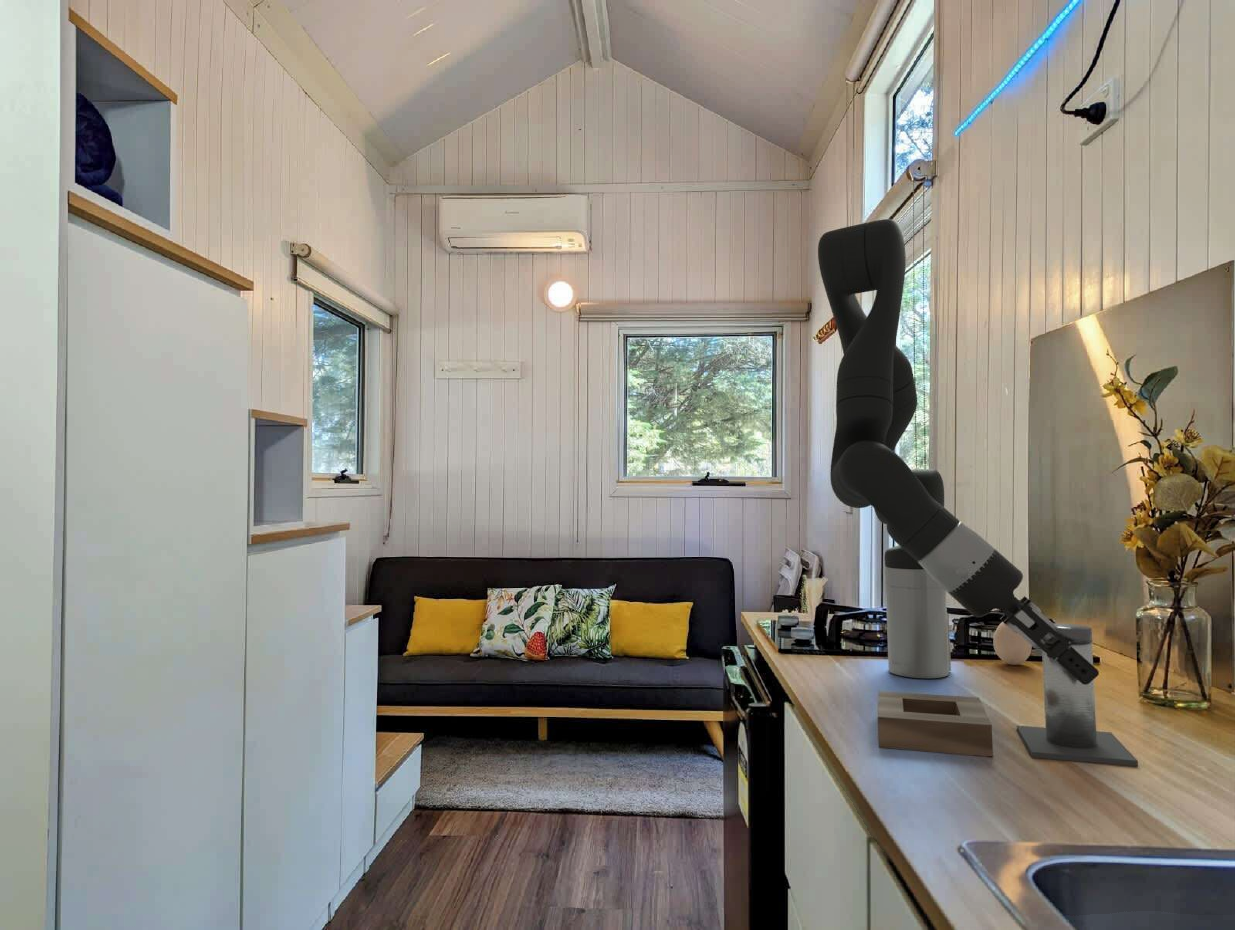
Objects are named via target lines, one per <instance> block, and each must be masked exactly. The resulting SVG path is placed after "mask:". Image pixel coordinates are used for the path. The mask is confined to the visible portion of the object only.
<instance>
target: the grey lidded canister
mask: <svg viewBox="0 0 1235 930" xmlns="http://www.w3.org/2000/svg"><path fill="white" fill-rule="evenodd" d="M1052 623H1053V624H1055V625H1056V626H1057V627H1058V634H1060V635H1061V636H1062V637H1063V638H1064V639H1065V638H1066V639H1067V640H1068V641H1070V644H1071V645H1072V646H1073V647H1072V648H1073V649H1075V650H1076V651H1077V652H1078V653H1079V654H1080V655H1081V656H1083V657H1084V658H1085V659H1086V660H1087V661H1088V662H1089V663H1090V664H1092V665H1093V666H1094V659H1093V657H1094V655H1093V628H1092V627H1091V626H1087V625H1082V624H1076V623H1075V624H1074V623H1065V622H1063V623H1062V622H1059V623H1056V622H1055V623H1054V622H1052ZM1057 640H1058V639H1057V638H1056V637H1054V636H1053V637H1051V638H1050V639H1049V640H1048V641H1046V642H1045V646H1046V647H1047V648H1049V647H1051V646H1052V645H1053V644H1054V643H1055V642H1056V641H1057ZM1041 655H1042V656H1041V657H1042V658H1041V659H1042V680H1043V699H1044V701H1043V702H1044V720H1045V721H1044V722H1045V728H1046V739H1047V740H1048V741H1049V742H1051V743H1054V744H1057V745H1060V746H1065V747H1071V748H1093V747H1096V746H1097V735H1096V731H1097V719H1096V718H1097V716H1096V699H1095V697H1096V696H1095V679H1093V680H1092V681H1091V682H1090V683H1089V684H1087V685H1084V684H1082V683H1081V682H1080V681H1078V680H1077V679H1076V678H1075V677H1074V676H1073V675H1072V674H1071V673H1070V672H1068V671H1067V670H1066V669H1065V668H1064V667H1063V666H1062V665H1061V664H1060V663H1058V662H1057V661H1055V660H1053V659H1050V658H1049V657H1048V656H1047V653H1045V652H1044V651H1043V650H1042V649H1041Z"/></svg>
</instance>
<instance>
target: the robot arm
mask: <svg viewBox="0 0 1235 930" xmlns="http://www.w3.org/2000/svg"><path fill="white" fill-rule="evenodd" d="M904 240H905V239H904V236H903V232H902V230H901V228H900V226H899V224H898V223H897V222H896V221H895V220H893V219H889V218H885V219H884V218H883V219H876V220H872V221H869V222H864V223H860V224H858V223H857V224H855V225H850V226H845V227H840V228H837V229H834V230H830V231H826V232H824V233H823V234H822V235H821V236H820V237H819V241H818V245H817V261H818V265H819V266H818V267H819V271H820V276H821V278H822V283H823V287H824V291H825V293H826V297H827V300H828V303H829V306H830V309H831V312H832V315H833V319H834V322H835V326H836V330H837V332H838V333H837V334H838V335H839V340H840V344H841V349H842V354H843V356H842V357H841V360H840V363H839V365H838V369H837V375H836V391H835V392H836V394H835V395H836V397H835V400H836V401H835V408H836V409H835V415H836V426H835V433H834V439H833V445H832V452H831V461H830V474H829V475H830V476H829V477H830V485H831V488H832V492H833V493H834V495H835V496H836V498H837V499H838V500H839V501H840V502H841V503H842V504H843V505H845V506H847V507H850V508H855V509H863V508H867V507H870V506H872V508H873V510H874V513H875V515H876V518H877V519H878V521H880V522H881V523H882V524H883V525H884V524H885V525H886V531H887V534H888V535H889V537H891V539H892V540H893V542H895V543H896V544H897V545H895V546H892V547H889V548H888V549H886V550H885V552H884V566H885V567H884V577H885V580H884V581H885V599H886V600H885V603H886V629H887V630H886V631H887V633H886V634H887V636H886V637H887V661H888V672H890V673H891V674H894V675H896V676H901V677H906V678H914V679H940V678H945V677H947V676H949V675H950V672H951V671H952V666H951V664H952V663H951V660H952V659H951V638H950V637H951V636H950V635H951V633H950V614H949V613H948V612H947V611H948V609H947V593H948V594H949V595H950V596H951V598H953V599H955V601H956V602H957V603H959V604H960V605H961V606H962V607H963V608H964V609H965V610H966V611H967V612H969V614H971V615H972V616H973V617H975V618H982V617H984V616H987V615H989V614H990V613H991V612H992V611H993V610H995V609H997V610H1000V612H1002V613H1003V615H1002V616H1001V617H999V620H1000V621H1001V622H1003V623H1004V624H1005V625H1006V626H1008V627H1009V628H1010V629H1011V630H1012V631H1013V632H1015V633H1018V634H1020V635H1021V636H1022V637H1023V638H1024V639H1025V640H1026V641H1027V642H1028V643H1029V644H1030V645H1032V647H1033V648H1034V649H1036V650H1038V649H1041V651H1042V650H1043V651H1044V652H1045V653H1047V656H1048V657H1049V658H1050V659H1053V660H1055V661H1057V662H1058V663H1060V664H1061V665H1062V666H1063V667H1064V668H1065V669H1066V670H1067V671H1068V672H1070V673H1071V674H1072V675H1073V676H1074V677H1075V678H1076V679H1077V680H1078V681H1080V682H1081V683H1082V684H1084V685H1087V684H1089V683H1090V682H1091V681H1092V680H1093V679H1094V680H1095V679H1097V677H1098V676H1099V675H1100V674H1099V673H1100V672H1099V669H1097V668H1096V667H1095V666H1094V664H1093V665H1092V664H1090V663H1089V662H1088V661H1087V660H1086V659H1085V658H1084V657H1083V656H1081V655H1080V654H1079V653H1078V652H1077V651H1076V650H1075V649H1073V648H1072V647H1073V646H1072V645H1071V644H1070V641H1068V640H1067V639H1066V638H1065V639H1064V638H1063V637H1062V636H1061V635H1060V634H1058V627H1057V626H1056V625H1055V624H1053V623H1054V622H1052V621H1051V619H1049V618H1048V617H1046V615H1044V614H1043V613H1042V610H1041V608H1039V607H1038V606H1037V605H1036V604H1035V603H1034V602H1033V601H1031V600H1030V599H1029V598H1027V597H1026V596H1025V595H1024V596H1023V597H1022V598H1021V599H1018V598H1017V597H1016V596H1015V593H1014V592H1015V590H1016V589H1017V588H1018V587H1019V586H1020V584H1021V583H1022V581H1023V578H1024V574H1023V573H1022V571H1021V570H1020V569H1019V568H1017V567H1016V566H1015V565H1014V564H1013V563H1012V562H1010V561H1009V560H1008V559H1007V558H1006V557H1005V556H1003V555H1002V553H1000V552H999V551H998V550H997V549H996V548H995V547H993V546H992V545H991V544H990V543H989V542H988V541H987V540H985V539H984V538H983V537H982V536H981V535H979V534H978V533H977V531H976V532H975V531H974V530H973V529H971V528H970V527H968V526H967V525H965V524H964V523H963V522H962V521H960V520H959V518H957V517H956V516H955V515H954V514H952V513H951V512H950V511H949V510H948V509H947V508H946V507H945V487H944V485H945V484H944V480H943V477H942V475H941V474H940V472H939V471H938V470H936V469H933V468H920V469H919V468H917V469H915V468H913V469H911V468H910V467H909V466H908V464H907V463H906V462H905V461H904V459H902V458H901V456H900V455H898V454H897V452H895V449H896V447H897V445H898V443H899V441H900V440H901V438H902V436H903V435H904V434H905V431H907V429H908V427H909V425H910V423H911V421H912V419H913V418H914V415H915V413H916V410H917V407H918V395H917V390H916V389H917V388H916V384H915V378H914V373H913V367H912V364H911V362H910V360H909V359H908V357H907V356H906V355H905V353H904V352H903V351H902V350H901V349H900V348H899V347H898V346H897V345H896V341H897V335H898V329H899V323H900V318H901V316H900V315H901V309H902V308H901V307H902V300H903V296H904V295H903V293H904V286H905V277H906V261H907V260H906V258H907V257H906V256H907V255H906V245H905V241H904ZM873 291H876V293H875V297H874V301H873V304H872V306H871V309H870V311H869V313H868V315H867V314H866V313H865V311H864V310H863V308H862V306H861V304H860V301H859V300H858V297H857V294H862V293H868V292H873ZM1053 636H1054V637H1056V638H1057V639H1058V640H1057V641H1056V642H1055V643H1054V644H1053V645H1052V646H1051V647H1049V648H1047V647H1046V646H1045V642H1046V641H1048V640H1049V639H1050V638H1051V637H1053Z"/></svg>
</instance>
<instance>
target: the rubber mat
mask: <svg viewBox="0 0 1235 930" xmlns="http://www.w3.org/2000/svg"><path fill="white" fill-rule="evenodd" d="M1016 732H1017V733H1018V735H1019V737H1020V739H1021V742H1022V743H1023V745H1024V746H1025V748H1026V749H1027V750H1026V751H1028V753H1029V755H1030V757H1031V758H1034V759H1035V758H1036V759H1043V760H1044V759H1046V760H1056V761H1057V760H1059V761H1068V762H1069V761H1071V762H1080V763H1081V762H1082V763H1095V764H1107V765H1118V766H1130V767H1139V761H1138V759H1137V758H1136V757H1135V756H1134V755H1133V754H1132V753H1131V752H1130V750H1128V749H1127V748H1126V746H1124V744H1122V742H1121V741H1120V740H1119V739H1118V738H1117V737H1116V736H1115V735H1114V734H1113V733H1112V731H1111V732H1110V731H1098V730H1096V735H1097V746H1096V747H1093V748H1071V747H1065V746H1060V745H1057V744H1054V743H1051V742H1049V741H1048V740H1047V739H1046V727H1042V726H1028V725H1016Z"/></svg>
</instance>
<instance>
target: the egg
mask: <svg viewBox="0 0 1235 930" xmlns="http://www.w3.org/2000/svg"><path fill="white" fill-rule="evenodd" d="M992 644H993V648H994V649H993V650H994V651H995V654H996V655H997V656H998V658H999V659H1000V660H1001V661H1003V662H1004V663H1005V664H1007V665H1011V666H1018V665H1021V664H1023V663H1025V662H1026V660H1028V659H1029V657H1030V655H1031V653H1032V647H1033V646H1032V645H1030V644H1029V643H1028V642H1027V641H1026V640H1025V639H1024V638H1023V637H1022V636H1021V635H1020V634H1018V633H1015V632H1013V631H1012V630H1011V629H1010V628H1009V627H1008V626H1006V625H1005V624H1004V623H1003V621H1001V622H1000V623H999V625H998V626H997V628H996V630H995V632H994V633H993V643H992Z"/></svg>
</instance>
